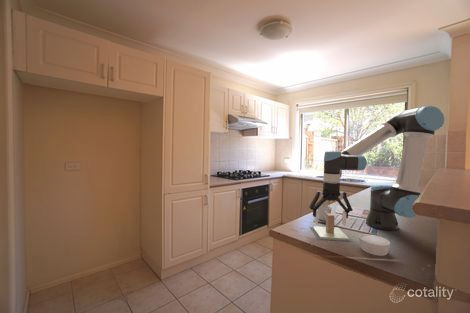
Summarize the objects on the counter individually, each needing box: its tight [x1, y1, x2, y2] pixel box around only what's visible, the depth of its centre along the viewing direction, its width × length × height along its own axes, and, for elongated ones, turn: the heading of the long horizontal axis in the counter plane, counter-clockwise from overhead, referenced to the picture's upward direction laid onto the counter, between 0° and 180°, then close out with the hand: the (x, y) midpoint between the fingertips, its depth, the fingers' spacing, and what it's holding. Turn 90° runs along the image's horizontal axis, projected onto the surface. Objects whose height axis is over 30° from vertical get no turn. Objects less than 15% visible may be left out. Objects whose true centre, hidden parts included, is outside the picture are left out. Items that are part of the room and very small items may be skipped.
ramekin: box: [358, 233, 391, 257], centre depth 90 cm, size 11×11×5 cm
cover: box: [312, 213, 350, 240], centre depth 106 cm, size 13×13×10 cm
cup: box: [317, 204, 333, 222], centre depth 126 cm, size 11×8×8 cm
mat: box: [309, 226, 354, 243], centre depth 106 cm, size 16×16×1 cm
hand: (329, 223), depth 106 cm, fingers open, 13 cm apart
